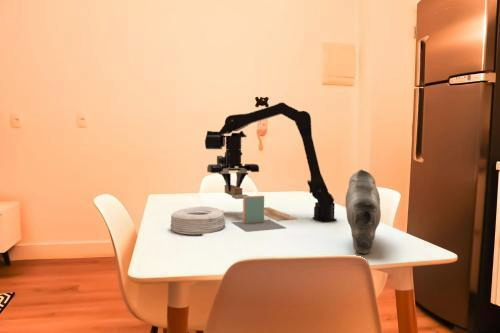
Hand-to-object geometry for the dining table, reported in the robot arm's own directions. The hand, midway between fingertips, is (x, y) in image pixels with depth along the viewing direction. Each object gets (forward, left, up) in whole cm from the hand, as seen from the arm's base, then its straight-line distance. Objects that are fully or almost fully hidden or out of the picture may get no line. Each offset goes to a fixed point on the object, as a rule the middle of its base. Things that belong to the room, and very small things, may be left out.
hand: (233, 191), depth 135 cm
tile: (-2, +15, -9) cm, 18 cm away
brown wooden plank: (0, +2, -1) cm, 2 cm away
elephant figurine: (-21, +47, -10) cm, 52 cm away
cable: (+17, +15, -10) cm, 25 cm away
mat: (-2, +19, -9) cm, 21 cm away
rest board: (-15, +3, -10) cm, 18 cm away
